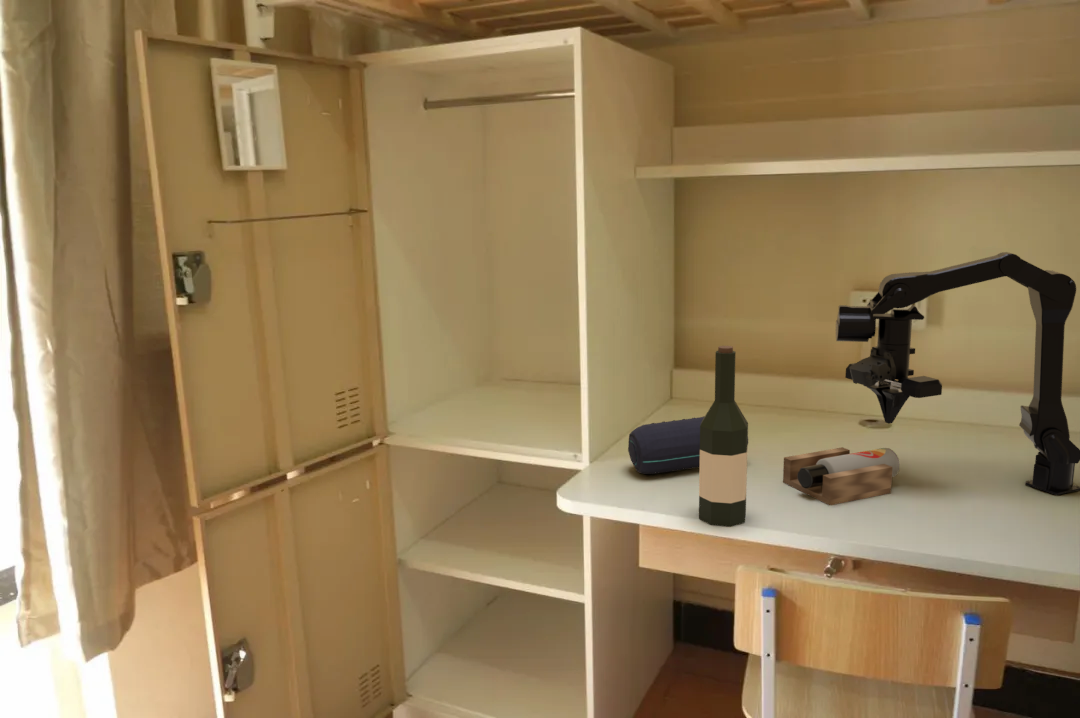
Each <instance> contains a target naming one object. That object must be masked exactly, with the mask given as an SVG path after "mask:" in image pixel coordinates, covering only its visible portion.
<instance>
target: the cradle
mask: <svg viewBox="0 0 1080 718" xmlns="http://www.w3.org/2000/svg"><path fill="white" fill-rule="evenodd" d="M850 452H851V450H850V449H848V448H845V447H843V446H842V447H835V448H831V449H826V450H825V449H824V450H819V451H814V452H812V451H811V452H808V453H807V452H806V453H802V454H801V453H800V454H796V455H789V456H784V457H783V470H782V471H783V473H782V479H783V480H782V482H783V483H784V484H786V485H788V486H790V487H792V488H794V489H796V490H798V491H800V492H802V493H804V494H806V495H808V496H809V497H812V498H814V499H816V500H818V501H820V502H822V503H824V504H826V505H828V506H832V505H839V504H843V503H848V502H853V501H857V500H863V499H867V498H873V497H878V496H883V495H887V494H891V493H892V482H893V481H892V480H893V477H892V467H891V466H889V465H886V464H880V465H875V466H870V467H864V468H859V469H853V470H848V471H843V472H837V473H832V474H826V475H823V486H818V487H812V488H803V487H802V486H801V484H800V483H799V481H798V478H797V475H798V472H799V470H800V468H803V467H808V466H813V465H816V463H817V462H818V461H819V460H820V459H824V458H829V457H835V456H840V455H846V454H851V453H850Z"/></svg>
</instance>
